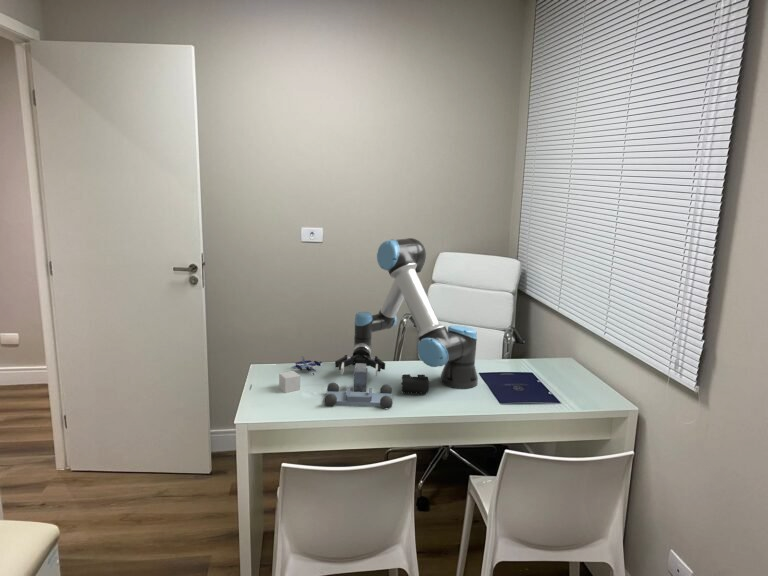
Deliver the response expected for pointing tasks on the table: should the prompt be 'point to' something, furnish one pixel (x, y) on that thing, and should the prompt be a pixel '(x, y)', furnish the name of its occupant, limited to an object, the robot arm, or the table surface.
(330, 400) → the chassis
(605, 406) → the table surface
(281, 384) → the light grey cube
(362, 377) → the capped grey pillar
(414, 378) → the black arched housing
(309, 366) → the toy airplane
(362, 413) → the table surface
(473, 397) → the table surface
